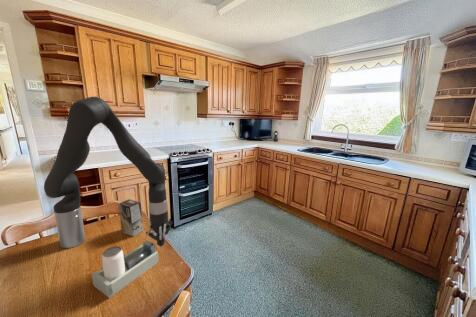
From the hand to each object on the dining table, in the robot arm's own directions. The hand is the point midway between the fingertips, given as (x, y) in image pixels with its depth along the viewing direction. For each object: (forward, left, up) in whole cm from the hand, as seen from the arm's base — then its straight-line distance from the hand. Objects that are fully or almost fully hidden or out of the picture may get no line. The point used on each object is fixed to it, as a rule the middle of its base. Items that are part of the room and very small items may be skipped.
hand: (161, 245), depth 91 cm
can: (0, -21, -2) cm, 21 cm away
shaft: (0, -10, -2) cm, 10 cm away
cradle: (0, -15, -3) cm, 16 cm away
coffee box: (-25, +3, -3) cm, 25 cm away
